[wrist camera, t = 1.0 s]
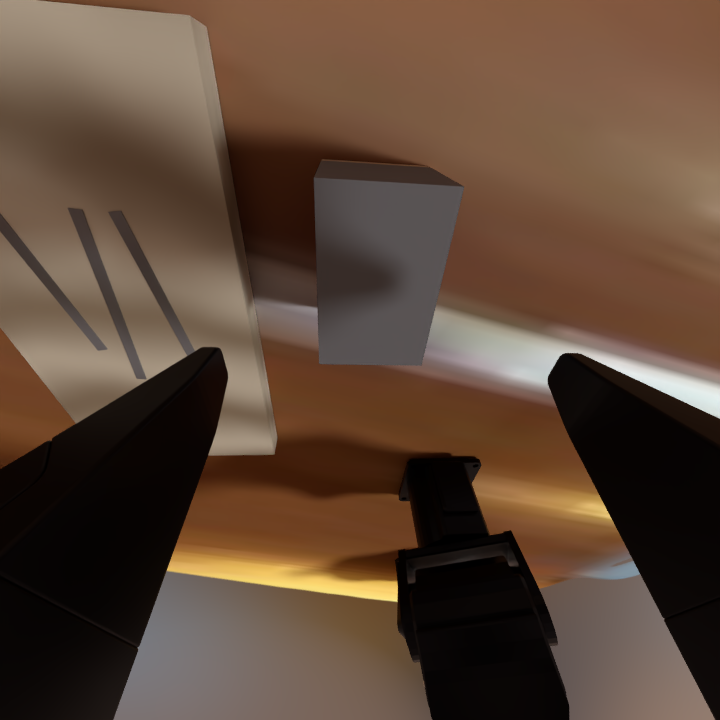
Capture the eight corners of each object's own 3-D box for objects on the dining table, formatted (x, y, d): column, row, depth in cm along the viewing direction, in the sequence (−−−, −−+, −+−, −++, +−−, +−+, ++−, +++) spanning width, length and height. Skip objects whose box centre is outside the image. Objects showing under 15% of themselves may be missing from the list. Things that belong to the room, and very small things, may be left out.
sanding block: (403, 309, 17) (421, 365, 14) (324, 307, 17) (319, 364, 13) (427, 165, 13) (464, 186, 9) (322, 159, 13) (313, 177, 9)
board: (277, 438, 24) (274, 455, 23) (114, 439, 23) (101, 456, 22) (206, 26, 10) (188, 15, 9) (-205, -13, 9) (-287, -33, 8)
